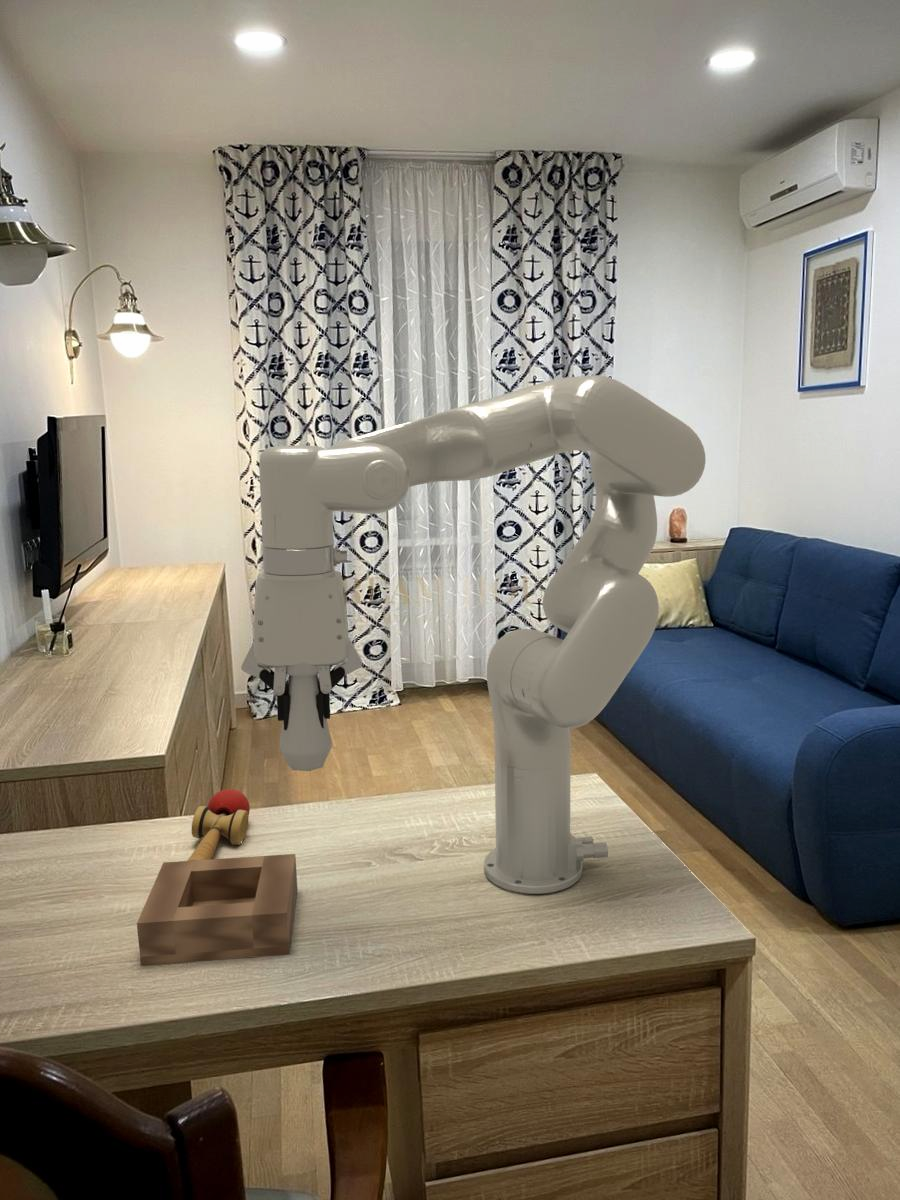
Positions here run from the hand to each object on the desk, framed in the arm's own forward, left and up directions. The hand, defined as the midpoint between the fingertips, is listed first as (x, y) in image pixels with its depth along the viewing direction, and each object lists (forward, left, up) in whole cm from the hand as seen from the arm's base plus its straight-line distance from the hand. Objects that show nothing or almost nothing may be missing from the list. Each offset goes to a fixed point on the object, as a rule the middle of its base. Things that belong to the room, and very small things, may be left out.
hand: (304, 724), depth 104 cm
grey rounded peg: (0, 0, -5) cm, 5 cm away
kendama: (+14, -22, -25) cm, 37 cm away
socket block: (+11, -2, -25) cm, 27 cm away
